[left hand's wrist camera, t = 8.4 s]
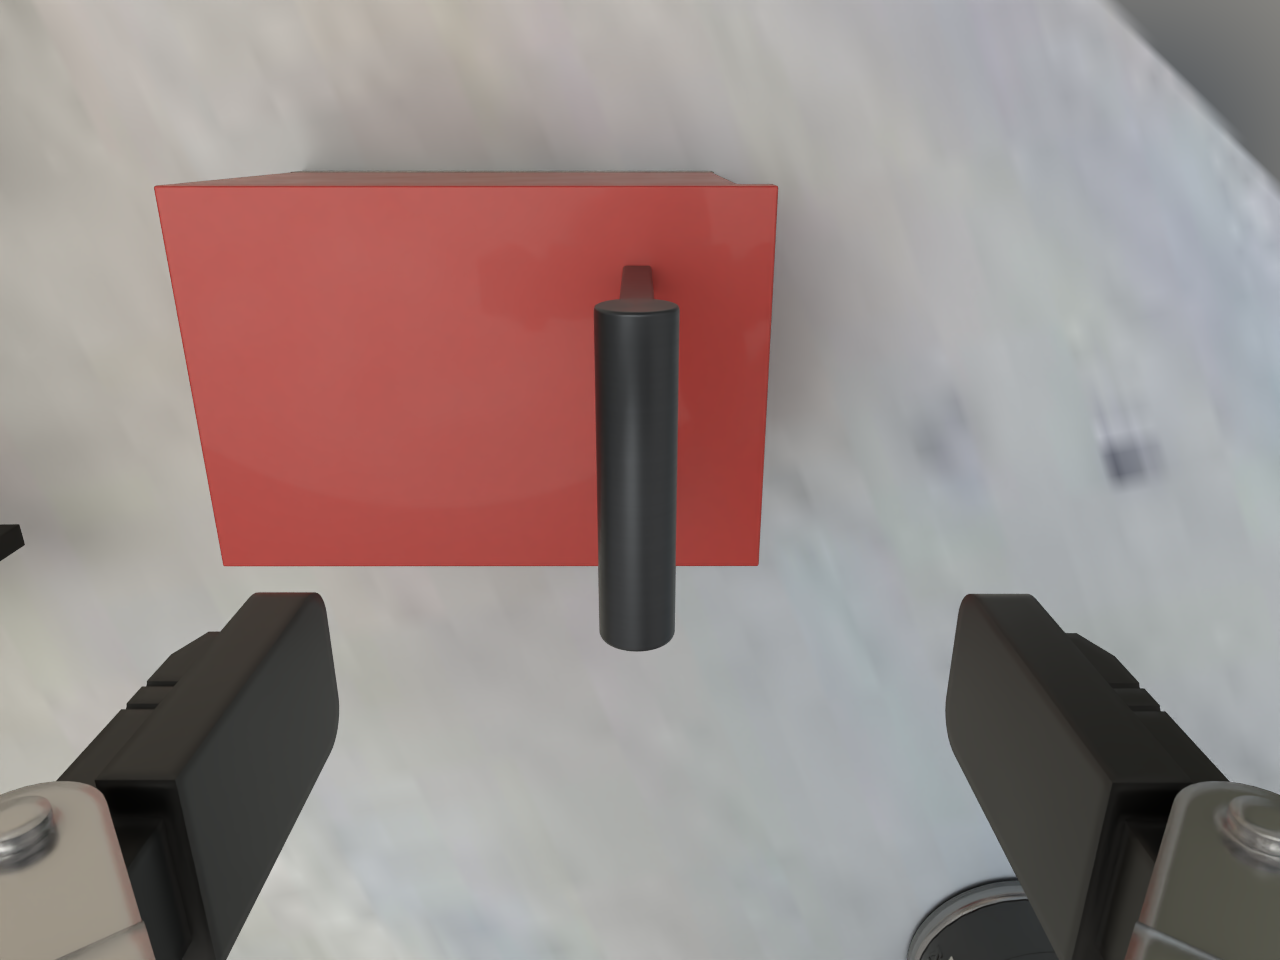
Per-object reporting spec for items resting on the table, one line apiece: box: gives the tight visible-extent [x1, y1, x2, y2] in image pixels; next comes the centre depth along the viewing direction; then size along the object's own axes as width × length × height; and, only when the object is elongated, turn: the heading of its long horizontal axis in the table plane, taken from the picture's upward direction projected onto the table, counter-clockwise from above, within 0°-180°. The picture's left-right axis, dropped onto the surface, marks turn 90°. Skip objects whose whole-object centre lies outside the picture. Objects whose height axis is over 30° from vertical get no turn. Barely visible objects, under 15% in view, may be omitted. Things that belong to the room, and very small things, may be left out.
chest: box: [180, 171, 735, 184], centre depth 28 cm, size 14×10×9 cm
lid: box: [154, 184, 778, 651], centre depth 20 cm, size 15×10×8 cm
